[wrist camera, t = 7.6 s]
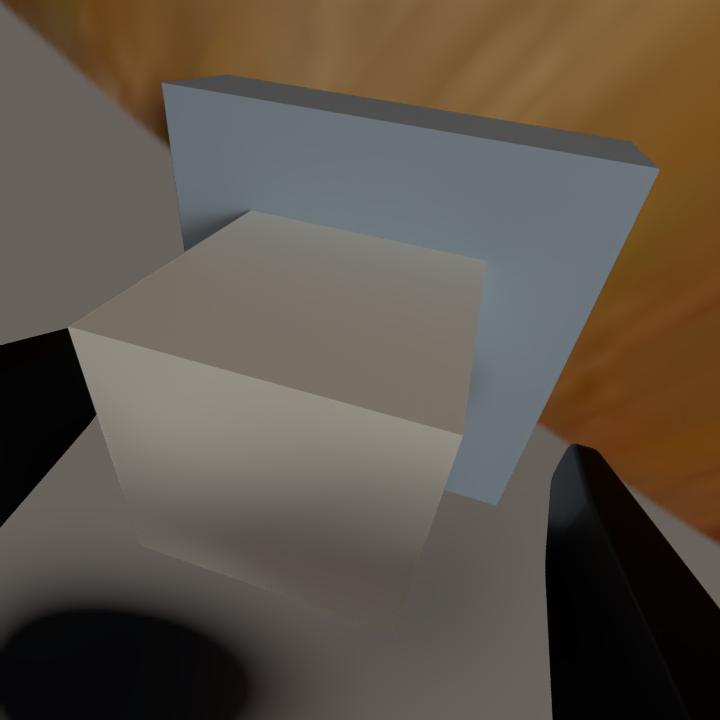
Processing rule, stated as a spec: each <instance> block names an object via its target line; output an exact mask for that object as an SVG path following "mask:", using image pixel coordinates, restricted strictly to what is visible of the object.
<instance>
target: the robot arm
mask: <svg viewBox="0 0 720 720" xmlns="http://www.w3.org/2000/svg"><path fill="white" fill-rule="evenodd" d="M96 415H97V414H96V411H95V408H94V405H93V402H92V399H91V396H90V393H89V390H88V387H87V384H86V381H85V378H84V375H83V372H82V369H81V366H80V363H79V360H78V357H77V354H76V351H75V348H74V345H73V342H72V339H71V336H70V333H69V330H68V328H66V329H62V330H58V331H54V332H50V333H46V334H43V335H39V336H35V337H31V338H27V339H23V340H19V341H15V342H12V343H7V344H4V345H0V527H1V526H2V525H3V524H4V523H5V521H6V520H7V519H8V518H9V517H10V516H11V514H12V513H13V512H14V511H15V510H16V509H17V508H18V506H19V505H20V504H21V503H22V502H23V501H24V499H25V498H26V497H27V496H28V495H29V494H30V492H31V491H32V490H33V489H34V488H35V487H36V486H37V484H38V483H39V482H40V481H41V480H42V479H43V477H44V476H45V475H46V474H47V473H48V472H49V470H50V469H51V468H52V467H53V466H54V465H55V464H56V462H57V461H58V460H59V459H60V458H61V457H62V455H63V454H64V453H65V452H66V451H67V450H68V449H69V447H70V446H71V445H72V444H73V443H74V441H75V440H76V439H77V438H78V437H79V436H80V435H81V433H82V432H83V431H84V430H85V429H86V427H87V426H88V425H89V424H90V423H91V421H92V420H93V419H94V417H95V416H96ZM545 578H546V597H547V616H548V617H547V618H548V638H549V658H550V678H551V698H552V717H553V720H720V608H719V607H718V606H717V605H716V603H715V602H714V601H713V599H712V598H711V597H710V595H709V594H708V593H707V592H706V590H705V589H704V588H703V586H702V585H701V584H700V582H699V581H698V580H697V579H696V577H695V576H694V575H693V574H692V572H691V571H690V570H689V568H688V567H687V566H686V565H685V563H684V562H683V560H682V559H681V558H680V557H679V555H678V554H677V553H676V551H675V550H674V549H673V548H672V546H671V545H670V544H669V542H668V541H667V540H666V538H665V537H664V536H663V534H662V533H661V532H660V531H659V529H658V528H657V527H656V525H655V524H654V523H653V522H652V520H651V519H650V518H649V516H648V515H647V514H646V512H645V511H644V510H643V509H642V507H641V506H640V505H639V503H638V502H637V501H636V499H635V498H634V497H633V496H632V494H631V493H630V492H629V490H628V489H627V488H626V486H625V485H624V484H623V483H622V481H621V480H620V479H619V477H618V476H617V475H616V474H615V472H614V471H613V470H612V468H611V467H610V466H609V464H608V463H607V462H606V461H605V459H604V458H603V457H602V455H601V454H600V453H599V452H598V451H597V450H596V449H593V448H590V447H586V446H583V445H579V444H571V445H570V446H569V447H568V448H567V450H566V452H565V454H564V455H563V457H562V459H561V461H560V463H559V464H558V466H557V468H556V470H555V472H554V474H553V477H552V480H551V489H550V502H549V515H548V529H547V542H546V558H545Z"/></svg>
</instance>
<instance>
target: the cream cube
mask: <svg viewBox="0 0 720 720" xmlns="http://www.w3.org/2000/svg"><path fill="white" fill-rule="evenodd" d="M485 265H486V261H485V260H480V259H476V258H471V257H466V256H462V255H457V254H453V253H448V252H443V251H439V250H434V249H430V248H425V247H420V246H416V245H411V244H407V243H402V242H397V241H393V240H388V239H384V238H379V237H374V236H370V235H365V234H361V233H356V232H351V231H347V230H342V229H337V228H333V227H328V226H323V225H319V224H314V223H309V222H305V221H300V220H295V219H291V218H286V217H281V216H277V215H272V214H267V213H263V212H258V211H253V210H251V211H249V212H248V213H246V214H244V215H243V216H241V217H240V218H238V219H236V220H235V221H233V222H232V223H230V224H229V225H227V226H225V227H224V228H222V229H221V230H219V231H217V232H216V233H214V234H213V235H211V236H210V237H208V238H206V239H205V240H203V241H202V242H200V243H198V244H197V245H195V246H194V247H192V248H191V249H189V250H187V251H186V252H184V253H183V254H181V255H180V256H178V257H176V258H175V259H173V260H172V261H170V262H169V263H167V264H165V265H164V266H162V267H161V268H159V269H157V270H156V271H154V272H153V273H151V274H149V275H148V276H146V277H145V278H143V279H142V280H140V281H138V282H137V283H135V284H134V285H132V286H131V287H129V288H127V289H126V290H124V291H123V292H121V293H119V294H118V295H116V296H115V297H113V298H111V299H110V300H108V301H107V302H105V303H104V304H102V305H100V306H99V307H97V308H96V309H94V310H92V311H91V312H89V313H88V314H86V315H85V316H83V317H81V318H80V319H78V320H77V321H75V322H73V323H72V324H71V325H69V326H68V330H69V333H70V336H71V339H72V342H73V345H74V348H75V351H76V354H77V357H78V360H79V363H80V366H81V369H82V372H83V375H84V378H85V381H86V384H87V387H88V390H89V393H90V396H91V399H92V402H93V405H94V408H95V411H96V414H97V417H98V420H99V423H100V426H101V429H102V432H103V435H104V438H105V441H106V443H107V447H108V450H109V453H110V455H111V459H112V462H113V465H114V468H115V471H116V474H117V477H118V480H119V483H120V486H121V488H122V492H123V495H124V498H125V501H126V504H127V507H128V510H129V513H130V516H131V519H132V522H133V525H134V528H135V531H136V534H137V537H138V540H139V543H140V545H141V546H144V547H147V548H150V549H153V550H155V551H158V552H161V553H164V554H167V555H169V556H172V557H175V558H178V559H181V560H184V561H186V562H189V563H192V564H195V565H198V566H201V567H203V568H206V569H209V570H212V571H215V572H217V573H221V574H223V575H226V576H229V577H232V578H234V579H237V580H240V581H243V582H246V583H249V584H251V585H254V586H257V587H260V588H263V589H266V590H268V591H271V592H274V593H277V594H280V595H282V596H286V597H288V598H291V599H294V600H297V601H300V602H302V603H305V604H308V605H311V606H314V607H317V608H319V609H322V610H325V611H328V612H331V613H333V614H336V615H339V616H342V617H345V618H347V619H350V620H353V621H356V622H359V623H362V624H365V625H367V626H370V627H373V628H376V629H379V630H381V631H384V632H387V633H390V634H393V631H394V629H395V626H396V623H397V620H398V617H399V615H400V612H401V609H402V606H403V603H404V601H405V598H406V595H407V592H408V589H409V586H410V584H411V581H412V578H413V575H414V572H415V570H416V567H417V564H418V561H419V558H420V556H421V553H422V550H423V547H424V544H425V541H426V538H427V536H428V533H429V529H430V527H431V524H432V522H433V519H434V516H435V513H436V510H437V508H438V505H439V502H440V499H441V496H442V494H443V491H444V488H445V485H446V482H447V480H448V477H449V474H450V471H451V468H452V465H453V463H454V460H455V457H456V454H457V451H458V449H459V446H460V443H461V440H462V437H463V433H464V425H465V417H466V410H467V402H468V395H469V387H470V379H471V372H472V364H473V356H474V349H475V341H476V333H477V326H478V318H479V311H480V303H481V295H482V288H483V280H484V272H485Z"/></svg>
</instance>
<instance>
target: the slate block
mask: <svg viewBox="0 0 720 720" xmlns="http://www.w3.org/2000/svg"><path fill="white" fill-rule="evenodd" d="M162 89H163V96H164V104H165V111H166V118H167V126H168V133H169V140H170V148H171V155H172V162H173V169H174V177H175V184H176V192H177V199H178V206H179V213H180V221H181V229H182V236H183V243H184V250H185V252H186V251H187V250H189V249H191V248H192V247H194V246H195V245H197V244H198V243H200V242H202V241H203V240H205V239H206V238H208V237H210V236H211V235H213V234H214V233H216V232H217V231H219V230H221V229H222V228H224V227H225V226H227V225H229V224H230V223H232V222H233V221H235V220H236V219H238V218H240V217H241V216H243V215H244V214H246V213H248V212H249V211H251V210H253V211H258V212H263V213H267V214H272V215H277V216H281V217H286V218H291V219H295V220H300V221H305V222H309V223H314V224H319V225H323V226H328V227H333V228H337V229H342V230H347V231H351V232H356V233H361V234H365V235H370V236H374V237H379V238H384V239H388V240H393V241H397V242H402V243H407V244H411V245H416V246H420V247H425V248H430V249H434V250H439V251H443V252H448V253H453V254H457V255H462V256H466V257H471V258H476V259H480V260H485V261H486V265H485V272H484V280H483V288H482V295H481V303H480V311H479V318H478V326H477V333H476V341H475V349H474V356H473V364H472V372H471V379H470V387H469V395H468V402H467V410H466V417H465V425H464V433H463V437H462V440H461V443H460V446H459V449H458V451H457V454H456V457H455V460H454V463H453V465H452V468H451V471H450V474H449V477H448V480H447V482H446V485H445V488H444V490H446V491H450V492H453V493H456V494H459V495H463V496H466V497H469V498H473V499H476V500H479V501H483V502H486V503H489V504H492V505H497V503H498V501H499V499H500V497H501V495H502V493H503V491H504V489H505V487H506V485H507V483H508V481H509V479H510V477H511V475H512V472H513V470H514V468H515V466H516V464H517V462H518V460H519V458H520V456H521V454H522V452H523V450H524V448H525V446H526V444H527V442H528V440H529V438H530V436H531V433H532V431H533V429H534V427H535V425H536V423H537V421H538V419H539V417H540V415H541V413H542V411H543V409H544V407H545V405H546V403H547V401H548V399H549V396H550V394H551V392H552V390H553V388H554V386H555V384H556V382H557V380H558V378H559V376H560V374H561V372H562V370H563V368H564V366H565V364H566V362H567V359H568V357H569V355H570V353H571V351H572V349H573V347H574V345H575V343H576V341H577V339H578V337H579V335H580V333H581V331H582V329H583V327H584V325H585V323H586V320H587V318H588V316H589V314H590V312H591V310H592V308H593V306H594V304H595V302H596V300H597V298H598V296H599V294H600V292H601V290H602V288H603V286H604V283H605V281H606V279H607V277H608V275H609V273H610V271H611V269H612V267H613V265H614V263H615V261H616V259H617V257H618V255H619V253H620V251H621V249H622V246H623V244H624V242H625V240H626V238H627V236H628V234H629V232H630V230H631V228H632V226H633V224H634V222H635V220H636V218H637V216H638V214H639V212H640V210H641V207H642V205H643V203H644V201H645V199H646V197H647V195H648V193H649V191H650V189H651V187H652V185H653V183H654V181H655V179H656V177H657V175H658V173H659V170H660V168H659V167H658V166H657V165H656V164H654V163H653V162H652V161H651V160H650V159H649V158H648V157H647V156H646V155H645V154H644V153H643V152H641V151H640V150H639V149H638V148H637V147H636V146H635V145H634V144H633V143H632V142H631V141H625V140H619V139H613V138H607V137H601V136H595V135H589V134H583V133H577V132H571V131H565V130H559V129H553V128H547V127H541V126H535V125H529V124H523V123H516V122H510V121H504V120H498V119H492V118H486V117H480V116H474V115H468V114H462V113H456V112H450V111H444V110H438V109H432V108H426V107H420V106H414V105H407V104H401V103H395V102H389V101H383V100H377V99H371V98H365V97H359V96H353V95H347V94H341V93H335V92H329V91H323V90H317V89H311V88H305V87H298V86H292V85H286V84H280V83H274V82H268V81H262V80H256V79H250V78H244V77H238V76H232V75H222V76H213V77H205V78H196V79H188V80H179V81H171V82H162Z"/></svg>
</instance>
